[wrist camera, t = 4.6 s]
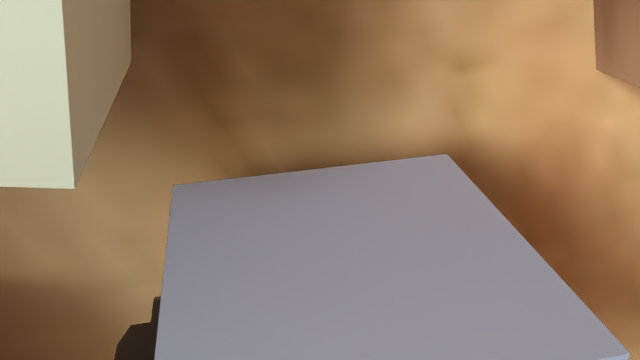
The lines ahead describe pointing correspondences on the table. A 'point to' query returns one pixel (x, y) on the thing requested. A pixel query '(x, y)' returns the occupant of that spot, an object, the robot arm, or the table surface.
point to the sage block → (57, 85)
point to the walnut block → (618, 39)
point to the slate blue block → (362, 272)
